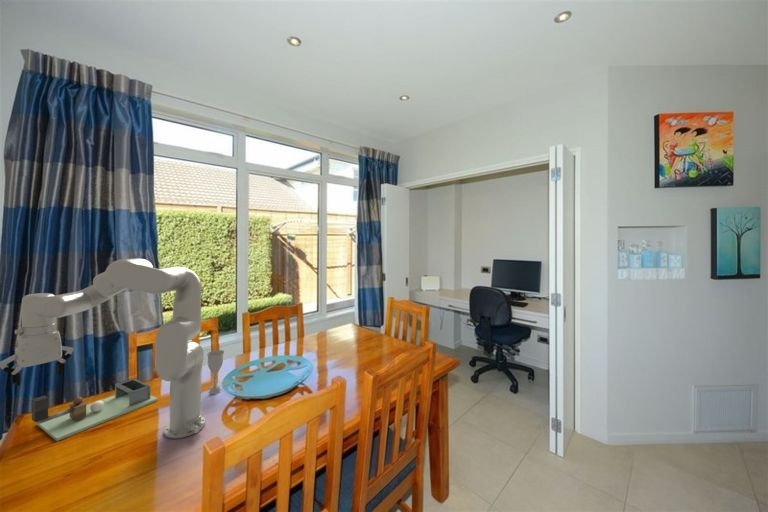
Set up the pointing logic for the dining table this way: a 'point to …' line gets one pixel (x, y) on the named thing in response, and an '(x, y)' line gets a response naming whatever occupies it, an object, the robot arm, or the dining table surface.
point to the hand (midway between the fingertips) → (38, 378)
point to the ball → (97, 406)
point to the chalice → (215, 367)
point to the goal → (133, 391)
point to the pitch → (91, 417)
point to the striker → (41, 412)
